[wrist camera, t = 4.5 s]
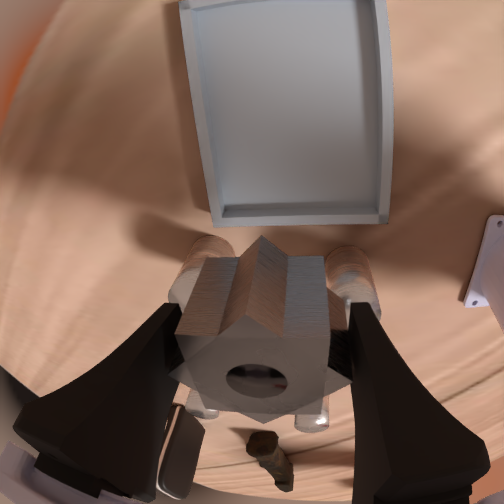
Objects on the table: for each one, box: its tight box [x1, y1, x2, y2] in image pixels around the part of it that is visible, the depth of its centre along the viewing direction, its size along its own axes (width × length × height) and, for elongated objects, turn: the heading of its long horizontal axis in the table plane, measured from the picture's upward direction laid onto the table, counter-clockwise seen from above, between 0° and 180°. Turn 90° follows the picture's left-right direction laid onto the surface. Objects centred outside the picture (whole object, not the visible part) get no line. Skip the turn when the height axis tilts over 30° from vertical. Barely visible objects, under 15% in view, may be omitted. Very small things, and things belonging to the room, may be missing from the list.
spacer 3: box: [294, 395, 329, 433], centre depth 26 cm, size 3×3×5 cm
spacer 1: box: [168, 235, 235, 314], centre depth 20 cm, size 3×3×5 cm
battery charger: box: [156, 406, 205, 499], centre depth 32 cm, size 7×4×11 cm, turn 17°
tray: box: [178, 0, 394, 227], centre depth 15 cm, size 10×13×2 cm
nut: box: [167, 235, 353, 424], centre depth 11 cm, size 6×6×4 cm
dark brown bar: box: [246, 432, 294, 492], centre depth 39 cm, size 19×4×5 cm, turn 15°
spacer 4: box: [325, 246, 381, 327], centre depth 19 cm, size 3×3×5 cm
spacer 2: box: [185, 388, 219, 419], centre depth 27 cm, size 3×3×5 cm
